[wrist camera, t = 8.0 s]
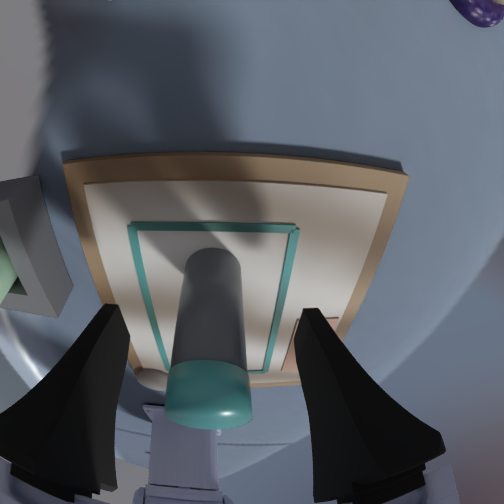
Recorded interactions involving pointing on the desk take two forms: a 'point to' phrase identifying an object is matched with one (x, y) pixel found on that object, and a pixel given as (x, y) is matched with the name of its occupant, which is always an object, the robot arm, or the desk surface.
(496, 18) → the toy lamp
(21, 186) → the button housing
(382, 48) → the desk surface
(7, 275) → the button
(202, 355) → the marker
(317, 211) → the framed board
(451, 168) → the desk surface
